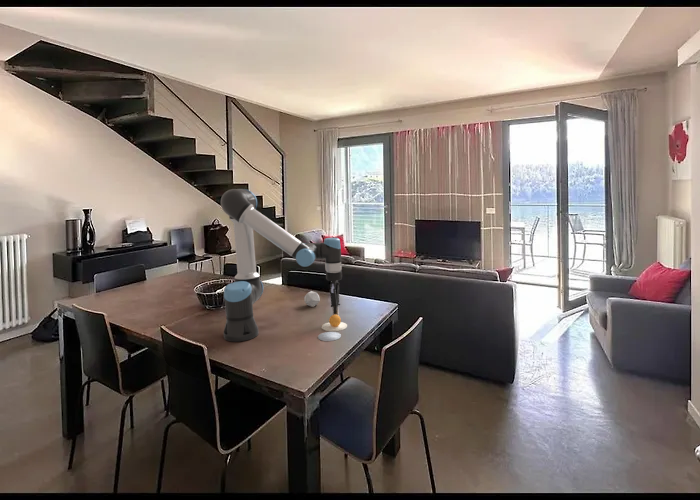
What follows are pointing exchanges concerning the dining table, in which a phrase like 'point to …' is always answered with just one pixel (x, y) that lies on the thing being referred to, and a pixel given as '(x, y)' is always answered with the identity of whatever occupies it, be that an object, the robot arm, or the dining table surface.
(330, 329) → the disc
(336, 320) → the ball
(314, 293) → the die
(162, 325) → the dining table surface
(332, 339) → the disc
